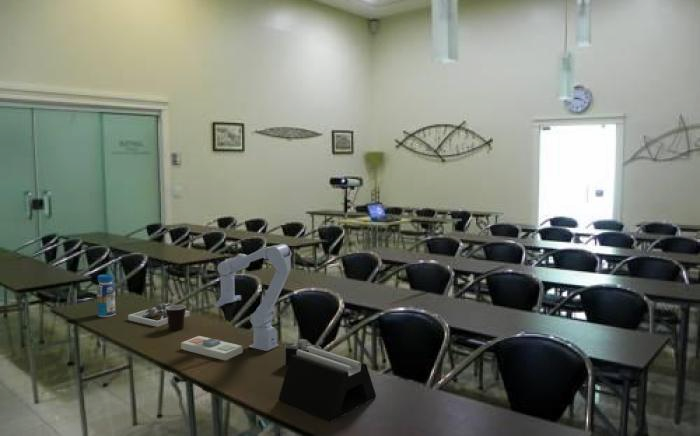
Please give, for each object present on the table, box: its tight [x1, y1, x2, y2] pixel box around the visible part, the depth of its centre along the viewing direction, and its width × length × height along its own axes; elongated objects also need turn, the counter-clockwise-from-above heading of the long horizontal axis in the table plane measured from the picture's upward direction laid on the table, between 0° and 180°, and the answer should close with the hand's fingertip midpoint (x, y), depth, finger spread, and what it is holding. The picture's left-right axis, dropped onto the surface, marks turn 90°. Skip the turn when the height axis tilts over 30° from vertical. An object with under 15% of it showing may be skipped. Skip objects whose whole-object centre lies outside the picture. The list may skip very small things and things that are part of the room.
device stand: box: [278, 346, 377, 423], centre depth 178 cm, size 22×22×15 cm
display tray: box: [127, 306, 191, 328], centre depth 266 cm, size 20×20×2 cm
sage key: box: [218, 345, 235, 351], centre depth 218 cm, size 5×5×2 cm
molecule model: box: [143, 302, 171, 320], centre depth 268 cm, size 15×9×11 cm
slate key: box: [203, 337, 221, 347], centre depth 222 cm, size 5×5×2 cm
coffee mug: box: [166, 304, 187, 332], centre depth 251 cm, size 12×9×10 cm
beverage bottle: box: [96, 273, 117, 318], centre depth 270 cm, size 8×8×20 cm
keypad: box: [180, 335, 244, 361], centre depth 222 cm, size 24×10×3 cm, turn 60°
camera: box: [284, 338, 323, 368], centre depth 207 cm, size 15×7×10 cm, turn 72°
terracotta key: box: [189, 337, 206, 344], centre depth 226 cm, size 5×5×2 cm
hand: (228, 320), depth 232 cm, fingers closed
